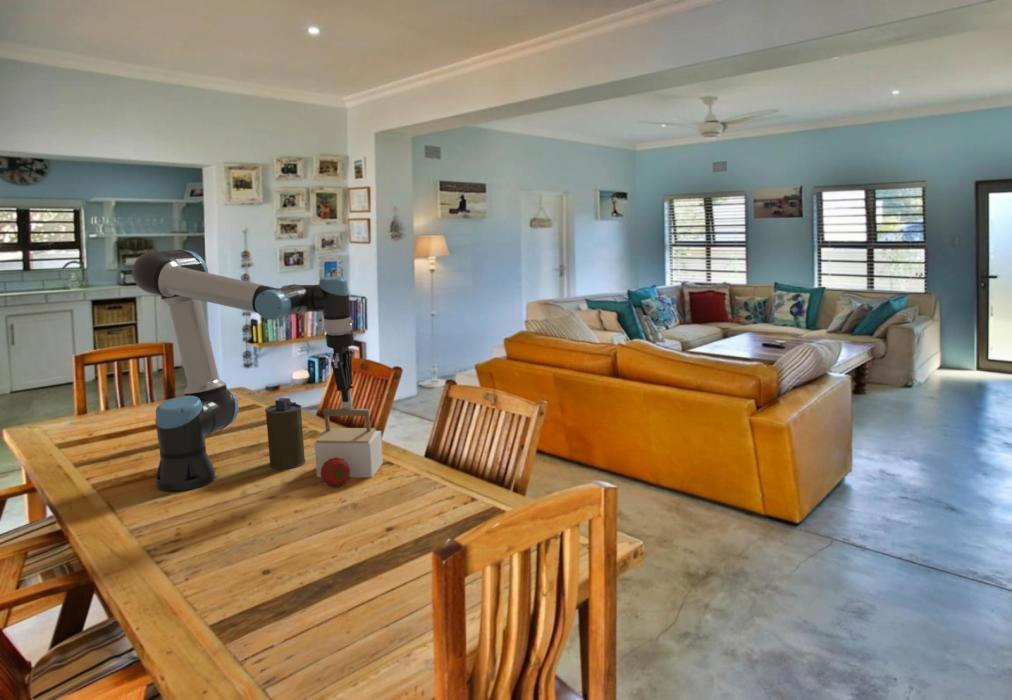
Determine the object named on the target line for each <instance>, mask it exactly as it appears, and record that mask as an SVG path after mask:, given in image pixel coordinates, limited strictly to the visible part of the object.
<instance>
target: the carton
mask: <svg viewBox="0 0 1012 700" xmlns="http://www.w3.org/2000/svg"><path fill="white" fill-rule="evenodd" d="M382 440H383V437H382V430H375V432H374V434H373V435H372V437H371V439H370V441H369V443H320V442H316V441H315V442H314V450H315V451H314V452H315V453H314V455H315V468H316V477H321V468H322V466H323V464H324V463H325V462H326V461H328V460H329V459H332V458H341V459H343V460H344V461H346V462H347V463H348V466H349V469H350V475H349V478H373V477H374V475H375V474H376V472H377V471H378V470H379V468H380V467H381V466H382V464H384V462H383V441H382ZM321 478H322V477H321Z"/></svg>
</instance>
